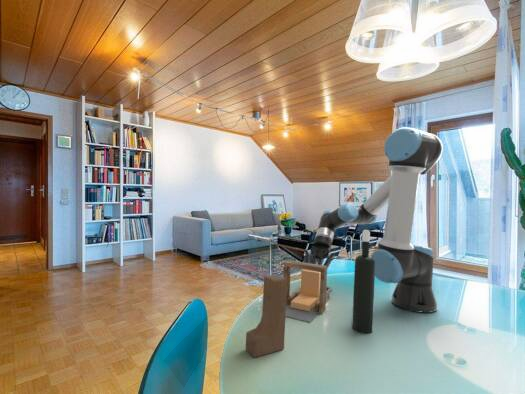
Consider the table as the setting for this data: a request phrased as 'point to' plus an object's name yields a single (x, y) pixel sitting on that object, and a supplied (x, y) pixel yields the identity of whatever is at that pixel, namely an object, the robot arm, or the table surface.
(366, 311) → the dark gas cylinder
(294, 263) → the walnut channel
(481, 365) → the table surface
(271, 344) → the wooden block
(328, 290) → the pad
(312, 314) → the felt mat
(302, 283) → the tan l-shaped block
